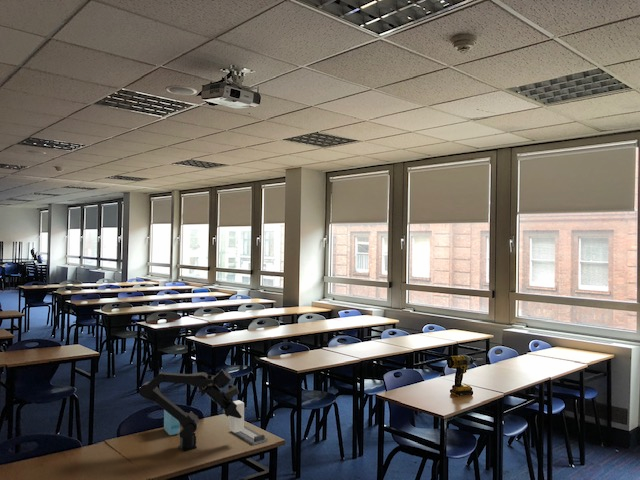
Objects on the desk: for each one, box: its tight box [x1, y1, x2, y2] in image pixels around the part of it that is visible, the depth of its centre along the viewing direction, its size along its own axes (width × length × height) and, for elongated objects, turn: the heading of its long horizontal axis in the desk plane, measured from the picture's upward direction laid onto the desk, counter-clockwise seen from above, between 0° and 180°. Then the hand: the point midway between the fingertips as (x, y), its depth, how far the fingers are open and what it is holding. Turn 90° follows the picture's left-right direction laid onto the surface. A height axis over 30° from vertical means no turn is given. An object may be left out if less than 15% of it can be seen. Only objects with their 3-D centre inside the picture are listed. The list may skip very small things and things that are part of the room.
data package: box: [163, 409, 180, 436], centre depth 248 cm, size 12×4×12 cm, turn 32°
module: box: [228, 399, 245, 434], centre depth 233 cm, size 5×5×13 cm
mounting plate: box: [230, 425, 269, 446], centre depth 243 cm, size 8×22×3 cm, turn 39°
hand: (239, 415), depth 234 cm, fingers closed on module, 6 cm apart
